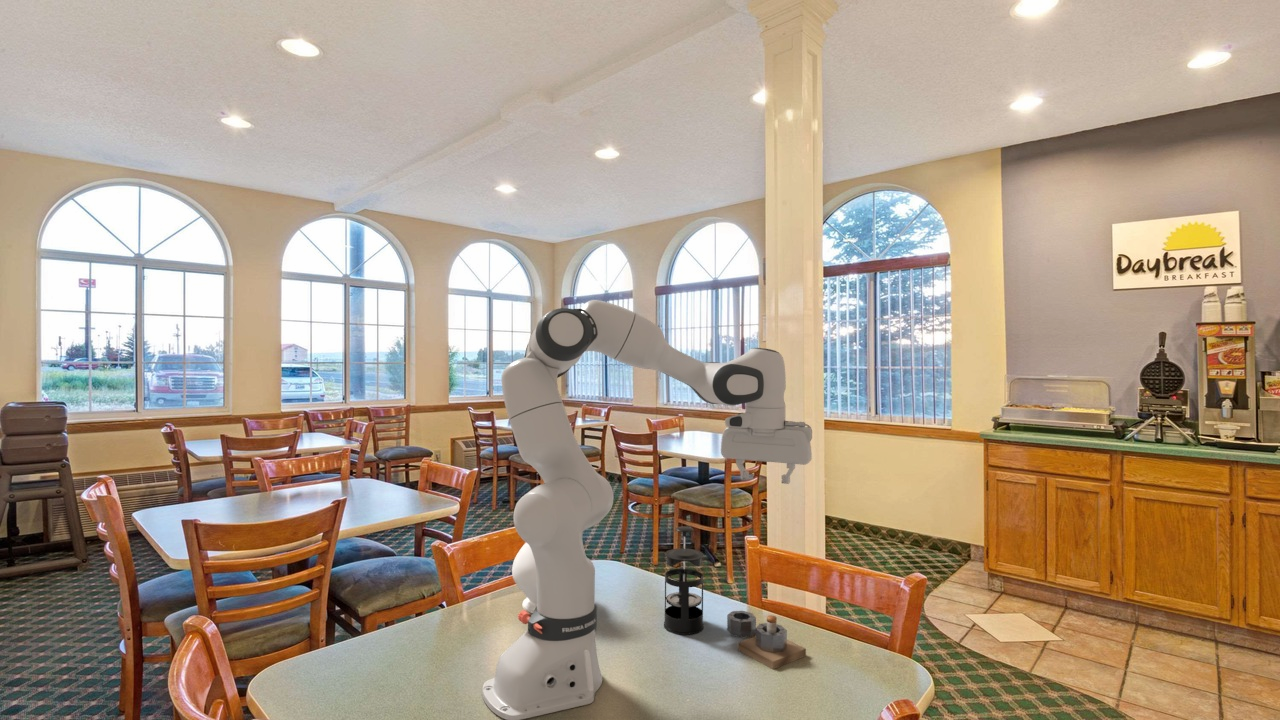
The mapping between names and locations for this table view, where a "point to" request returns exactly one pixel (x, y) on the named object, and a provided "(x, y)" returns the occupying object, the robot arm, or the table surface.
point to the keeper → (769, 658)
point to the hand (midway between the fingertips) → (765, 481)
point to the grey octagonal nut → (771, 638)
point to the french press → (683, 591)
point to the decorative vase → (526, 576)
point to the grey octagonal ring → (741, 624)
